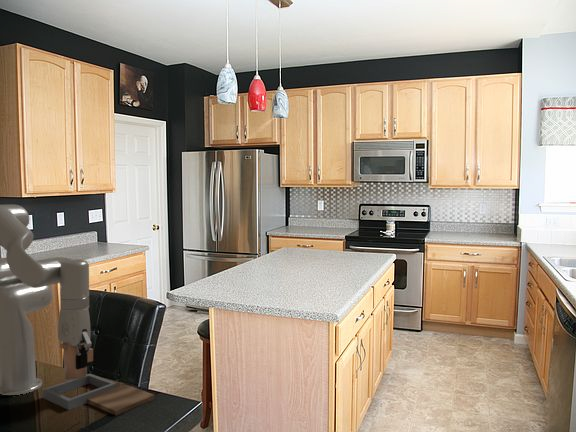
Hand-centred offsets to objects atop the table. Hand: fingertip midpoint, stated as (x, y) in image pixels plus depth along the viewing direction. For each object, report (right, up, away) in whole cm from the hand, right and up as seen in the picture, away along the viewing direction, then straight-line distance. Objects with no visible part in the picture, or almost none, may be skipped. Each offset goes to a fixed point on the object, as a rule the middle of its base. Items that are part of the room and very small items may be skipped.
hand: (75, 364), depth 135 cm
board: (+15, -8, -5) cm, 18 cm away
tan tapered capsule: (0, -3, 0) cm, 3 cm away
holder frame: (+2, -9, 0) cm, 9 cm away
